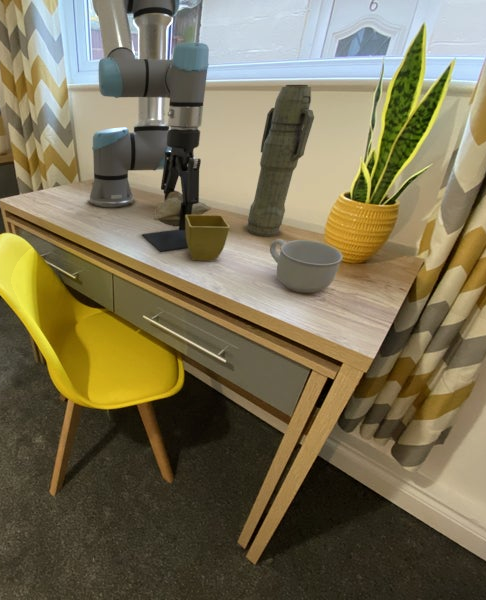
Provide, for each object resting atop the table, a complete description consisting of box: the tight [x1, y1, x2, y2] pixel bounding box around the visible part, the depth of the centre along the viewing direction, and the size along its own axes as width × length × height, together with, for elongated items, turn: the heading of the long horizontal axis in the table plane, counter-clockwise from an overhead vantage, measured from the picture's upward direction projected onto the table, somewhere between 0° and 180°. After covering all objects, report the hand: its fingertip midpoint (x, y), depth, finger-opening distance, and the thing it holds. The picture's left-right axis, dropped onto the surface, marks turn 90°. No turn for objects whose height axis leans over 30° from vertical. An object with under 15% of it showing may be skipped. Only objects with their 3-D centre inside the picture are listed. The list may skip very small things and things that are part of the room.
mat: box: [141, 228, 189, 253], centre depth 88 cm, size 12×16×1 cm
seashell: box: [153, 190, 212, 228], centre depth 86 cm, size 14×9×10 cm
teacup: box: [269, 238, 344, 294], centre depth 66 cm, size 14×11×8 cm
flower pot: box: [185, 214, 231, 262], centre depth 77 cm, size 9×9×9 cm
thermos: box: [246, 84, 315, 237], centre depth 85 cm, size 9×12×35 cm
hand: (175, 223), depth 88 cm, fingers closed on seashell, 8 cm apart
